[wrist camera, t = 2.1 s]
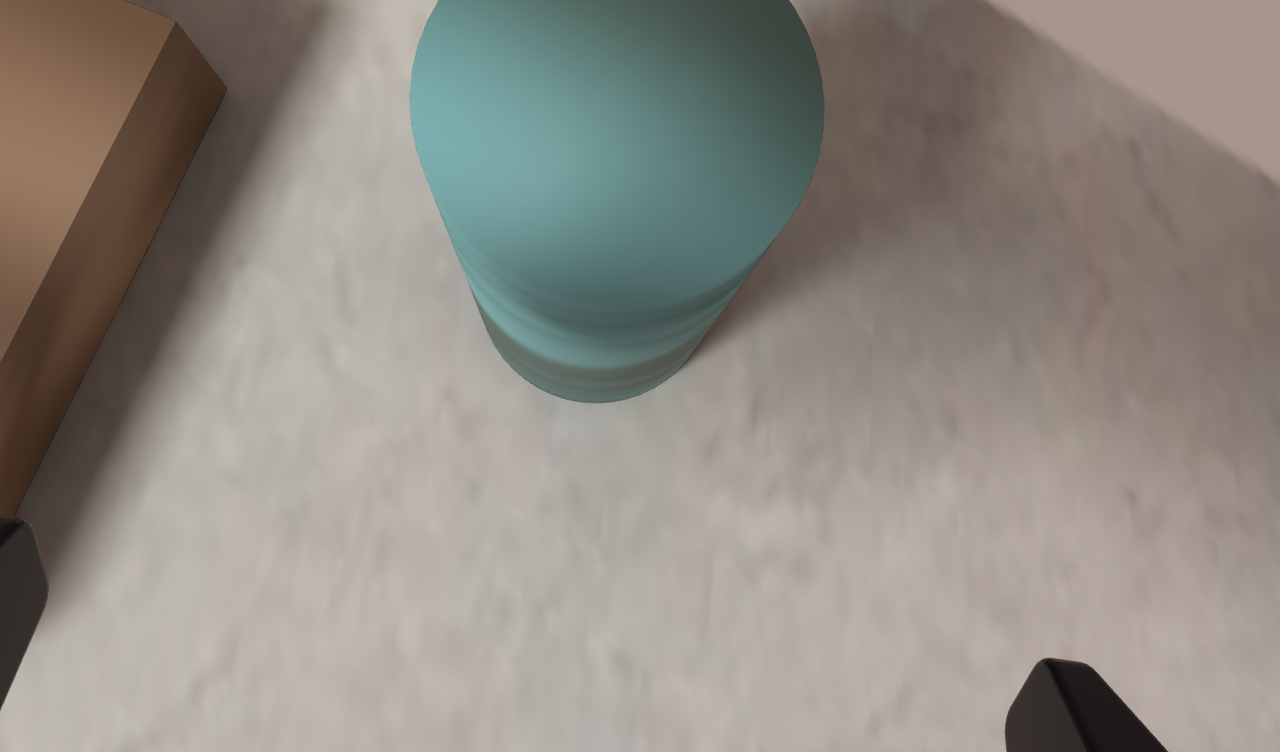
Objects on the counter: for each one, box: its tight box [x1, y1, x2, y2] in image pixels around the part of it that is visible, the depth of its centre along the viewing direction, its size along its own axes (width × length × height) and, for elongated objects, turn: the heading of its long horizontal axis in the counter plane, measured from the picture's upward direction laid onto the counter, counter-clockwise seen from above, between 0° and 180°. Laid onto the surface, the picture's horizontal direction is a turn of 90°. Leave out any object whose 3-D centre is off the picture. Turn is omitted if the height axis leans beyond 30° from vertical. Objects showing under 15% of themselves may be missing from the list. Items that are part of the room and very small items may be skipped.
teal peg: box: [410, 0, 824, 403], centre depth 17 cm, size 5×5×10 cm
